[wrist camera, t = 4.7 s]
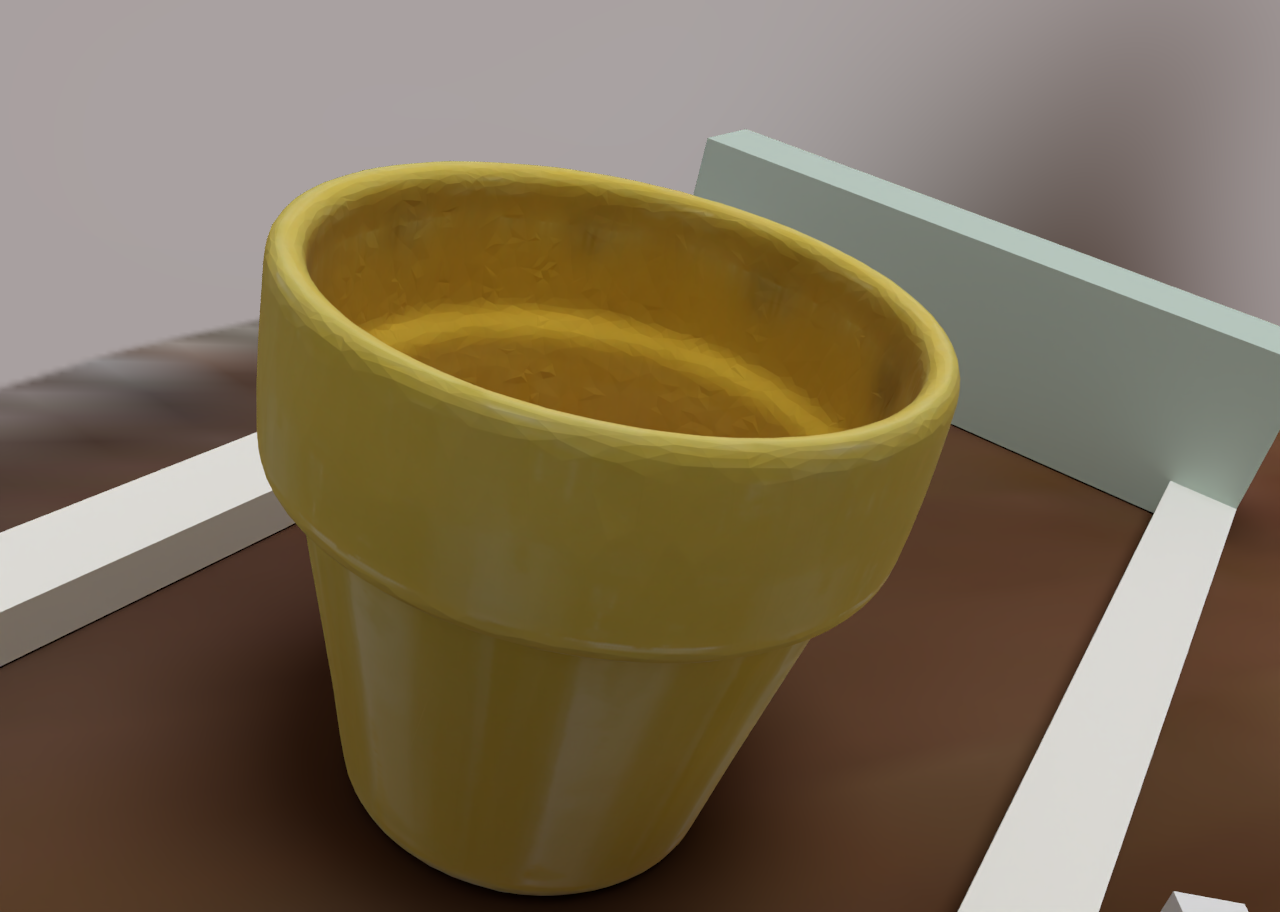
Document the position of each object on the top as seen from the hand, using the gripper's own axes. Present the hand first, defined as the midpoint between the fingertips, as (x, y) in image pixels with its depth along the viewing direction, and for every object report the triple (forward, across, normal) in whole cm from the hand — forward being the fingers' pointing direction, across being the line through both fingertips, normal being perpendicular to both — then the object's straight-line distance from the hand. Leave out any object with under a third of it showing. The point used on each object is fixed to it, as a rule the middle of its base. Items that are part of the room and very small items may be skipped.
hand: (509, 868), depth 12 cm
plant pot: (+8, 0, -7) cm, 11 cm away
